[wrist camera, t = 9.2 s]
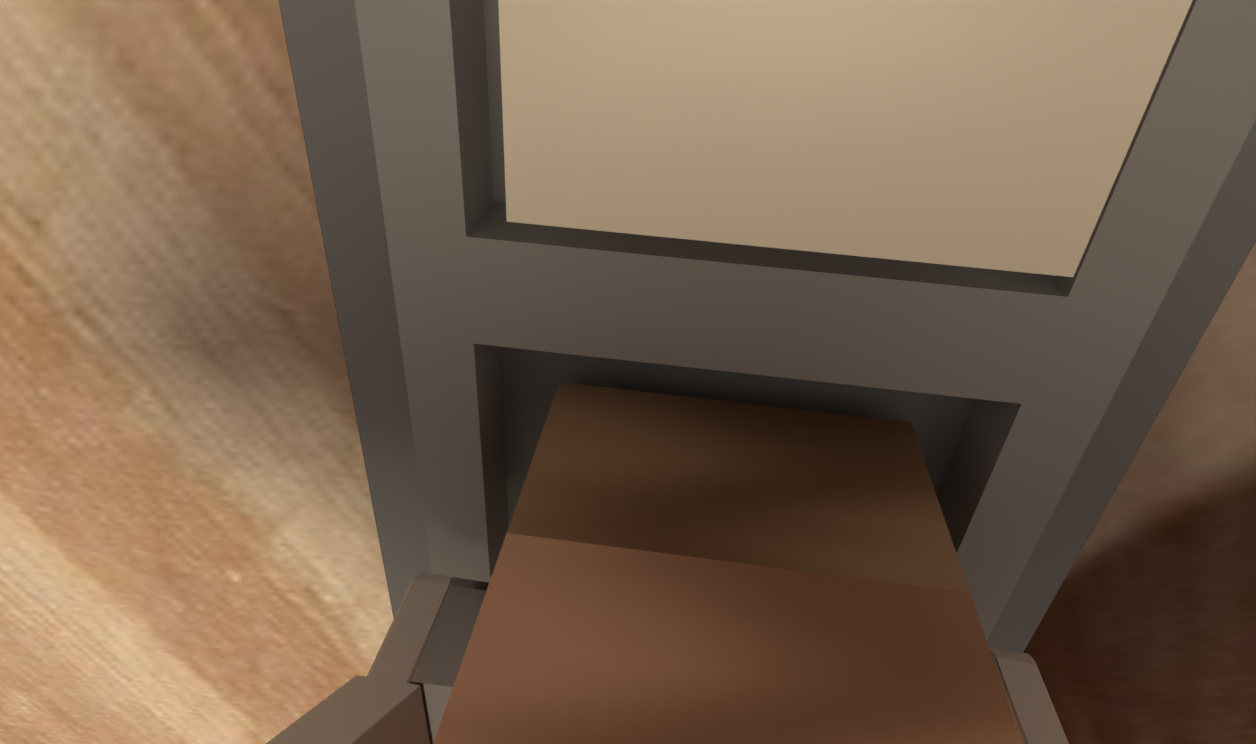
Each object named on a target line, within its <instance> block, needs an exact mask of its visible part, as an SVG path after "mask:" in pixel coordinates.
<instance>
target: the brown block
mask: <svg viewBox="0 0 1256 744" xmlns="http://www.w3.org/2000/svg"><path fill="white" fill-rule="evenodd" d="M433 744H1022V742H1021V739H1020V736H1019V733H1018V731H1017V728H1016V725H1015V722H1014V719H1013V716H1012V713H1011V710H1010V707H1009V704H1008V701H1007V699H1006V696H1005V693H1004V690H1003V687H1002V684H1001V681H1000V678H999V675H998V672H997V670H996V667H995V664H994V661H993V658H992V655H991V652H990V649H989V646H988V643H987V640H986V638H985V635H984V632H983V629H982V626H981V623H980V620H979V617H978V614H977V611H976V609H975V606H974V603H973V600H972V597H971V594H970V591H969V588H968V585H967V582H966V579H965V577H964V574H963V571H962V568H961V565H960V562H959V559H958V556H957V553H956V550H955V548H954V545H953V542H952V539H951V536H950V533H949V530H948V527H947V524H946V521H945V519H944V516H943V513H942V510H941V507H940V504H939V501H938V498H937V495H936V492H935V489H934V487H933V484H932V481H931V478H930V475H929V472H928V469H927V466H926V463H925V460H924V458H923V455H922V452H921V449H920V446H919V443H918V440H917V437H916V434H915V431H914V428H913V426H912V423H911V422H905V421H896V420H887V419H878V418H870V417H861V416H852V415H843V414H834V413H826V412H817V411H808V410H799V409H791V408H782V407H773V406H764V405H756V404H747V403H738V402H729V401H721V400H712V399H703V398H694V397H686V396H677V395H668V394H659V393H651V392H642V391H633V390H624V389H616V388H607V387H598V386H589V385H580V384H572V383H563V382H559V384H558V387H557V390H556V393H555V396H554V398H553V401H552V404H551V407H550V410H549V413H548V416H547V419H546V421H545V424H544V427H543V430H542V433H541V436H540V439H539V442H538V444H537V447H536V450H535V453H534V456H533V459H532V462H531V465H530V467H529V470H528V473H527V476H526V479H525V482H524V485H523V487H522V490H521V493H520V496H519V499H518V502H517V505H516V508H515V510H514V513H513V516H512V519H511V522H510V525H509V528H508V531H507V533H506V536H505V539H504V542H503V545H502V548H501V551H500V554H499V556H498V559H497V562H496V565H495V568H494V571H493V574H492V576H491V579H490V582H489V585H488V588H487V591H486V594H485V597H484V599H483V602H482V605H481V608H480V611H479V614H478V617H477V620H476V622H475V625H474V628H473V631H472V634H471V637H470V640H469V643H468V645H467V648H466V651H465V654H464V657H463V660H462V663H461V665H460V668H459V671H458V674H457V677H456V680H455V683H454V686H453V688H452V691H451V694H450V697H449V700H448V703H447V706H446V709H445V711H444V714H443V717H442V720H441V723H440V726H439V729H438V732H437V734H436V737H435V740H434V743H433Z"/></svg>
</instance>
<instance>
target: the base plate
mask: <svg viewBox="0 0 1256 744" xmlns="http://www.w3.org/2000/svg"><path fill="white" fill-rule="evenodd" d="M279 5H280V10H281V16H282V21H283V27H284V32H285V37H286V43H287V48H288V53H289V59H290V64H291V70H292V75H293V80H294V86H295V91H296V96H297V102H298V107H299V112H300V118H301V123H302V129H303V134H304V139H305V145H306V150H307V155H308V161H309V166H310V172H311V177H312V182H313V188H314V193H315V198H316V204H317V209H318V214H319V220H320V225H321V231H322V236H323V241H324V247H325V252H326V257H327V263H328V268H329V274H330V279H331V284H332V290H333V295H334V300H335V306H336V311H337V316H338V322H339V327H340V333H341V338H342V343H343V349H344V354H345V359H346V365H347V370H348V376H349V381H350V386H351V392H352V397H353V402H354V408H355V413H356V419H357V424H358V429H359V435H360V440H361V445H362V451H363V456H364V461H365V467H366V472H367V478H368V483H369V488H370V494H371V499H372V504H373V510H374V515H375V521H376V526H377V531H378V537H379V542H380V547H381V553H382V558H383V563H384V569H385V574H386V580H387V585H388V590H389V596H390V601H391V606H392V612H393V617H394V618H395V615H396V613H397V611H398V609H399V607H400V605H401V603H402V600H403V598H404V596H405V594H406V592H407V590H408V588H409V585H410V583H411V582H412V580H413V579H414V578H415V577H416V576H417V575H418V574H419V572H422V573H429V574H436V575H443V576H451V577H457V578H464V579H470V580H476V581H482V582H490V579H491V576H492V574H493V571H494V568H495V565H496V562H497V559H498V556H499V554H500V551H501V548H502V545H503V542H504V539H505V536H506V533H507V531H508V528H509V525H510V522H511V519H512V516H513V513H514V510H515V508H516V505H517V502H518V499H519V496H520V493H521V490H522V487H523V485H524V482H525V479H526V476H527V473H528V470H529V467H530V465H531V462H532V459H533V456H534V453H535V450H536V447H537V444H538V442H539V439H540V436H541V433H542V430H543V427H544V424H545V421H546V419H547V416H548V413H549V410H550V407H551V404H552V401H553V398H554V396H555V393H556V390H557V387H558V384H559V382H563V383H572V384H580V385H589V386H598V387H607V388H616V389H624V390H633V391H642V392H651V393H659V394H668V395H677V396H686V397H694V398H703V399H712V400H721V401H729V402H738V403H747V404H756V405H764V406H773V407H782V408H791V409H799V410H808V411H817V412H826V413H834V414H843V415H852V416H861V417H870V418H878V419H887V420H896V421H905V422H911V423H912V426H913V428H914V431H915V434H916V437H917V440H918V443H919V446H920V449H921V452H922V455H923V458H924V460H925V463H926V466H927V469H928V472H929V475H930V478H931V481H932V484H933V487H934V489H935V492H936V495H937V498H938V501H939V504H940V507H941V510H942V513H943V516H944V519H945V521H946V524H947V527H948V530H949V533H950V536H951V539H952V542H953V545H954V548H955V550H956V553H957V556H958V559H959V562H960V565H961V568H962V571H963V574H964V577H965V579H966V582H967V585H968V588H969V591H970V594H971V597H972V600H973V603H974V606H975V609H976V611H977V614H978V617H979V620H980V623H981V626H982V629H983V632H984V635H985V638H986V640H987V643H988V646H989V648H992V649H1000V650H1007V651H1015V652H1024V650H1025V648H1026V647H1027V645H1028V643H1029V641H1030V640H1031V638H1032V636H1033V634H1034V633H1035V631H1036V629H1037V627H1038V625H1039V624H1040V622H1041V620H1042V618H1043V617H1044V615H1045V613H1046V611H1047V610H1048V608H1049V606H1050V604H1051V603H1052V601H1053V599H1054V597H1055V595H1056V594H1057V592H1058V590H1059V588H1060V587H1061V585H1062V583H1063V581H1064V580H1065V578H1066V576H1067V574H1068V572H1069V571H1070V569H1071V567H1072V565H1073V564H1074V562H1075V560H1076V558H1077V557H1078V555H1079V553H1080V551H1081V550H1082V548H1083V546H1084V544H1085V542H1086V541H1087V539H1088V537H1089V535H1090V534H1091V532H1092V530H1093V528H1094V527H1095V525H1096V523H1097V521H1098V519H1099V518H1100V516H1101V514H1102V512H1103V511H1104V509H1105V507H1106V505H1107V504H1108V502H1109V500H1110V498H1111V497H1112V495H1113V493H1114V491H1115V489H1116V488H1117V486H1118V484H1119V482H1120V481H1121V479H1122V477H1123V475H1124V474H1125V472H1126V470H1127V468H1128V466H1129V465H1130V463H1131V461H1132V459H1133V458H1134V456H1135V454H1136V452H1137V451H1138V449H1139V447H1140V445H1141V444H1142V442H1143V440H1144V438H1145V436H1146V435H1147V433H1148V431H1149V429H1150V428H1151V426H1152V424H1153V422H1154V421H1155V419H1156V417H1157V415H1158V413H1159V412H1160V410H1161V408H1162V406H1163V405H1164V403H1165V401H1166V399H1167V398H1168V396H1169V394H1170V392H1171V391H1172V389H1173V387H1174V385H1175V383H1176V382H1177V380H1178V378H1179V376H1180V375H1181V373H1182V371H1183V369H1184V368H1185V366H1186V364H1187V362H1188V360H1189V359H1190V357H1191V355H1192V353H1193V352H1194V350H1195V348H1196V346H1197V345H1198V343H1199V341H1200V339H1201V338H1202V336H1203V334H1204V332H1205V330H1206V329H1207V327H1208V325H1209V323H1210V322H1211V320H1212V318H1213V316H1214V315H1215V313H1216V311H1217V309H1218V307H1219V306H1220V304H1221V302H1222V300H1223V299H1224V297H1225V295H1226V293H1227V292H1228V290H1229V288H1230V286H1231V285H1232V283H1233V281H1234V279H1235V277H1236V276H1237V274H1238V272H1239V270H1240V269H1241V267H1242V265H1243V263H1244V262H1245V260H1246V258H1247V256H1248V254H1249V253H1250V251H1251V249H1252V247H1253V246H1254V244H1255V242H1256V0H279Z"/></svg>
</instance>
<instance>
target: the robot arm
mask: <svg viewBox="0 0 1256 744" xmlns="http://www.w3.org/2000/svg"><path fill="white" fill-rule="evenodd" d="M488 585H489V582H482V581H476V580H470V579H464V578H457V577H451V576H443V575H436V574H429V573H422V572H419V574H418V575H417V576H416V577H415V578H414V579H413V580H412V582H411V583H410V585H409V588H408V590H407V592H406V594H405V596H404V598H403V600H402V603H401V605H400V607H399V609H398V611H397V613H396V615H395V618H394V620H393V622H392V624H391V626H390V628H389V630H388V632H387V635H386V637H385V639H384V641H383V643H382V645H381V647H380V650H379V652H378V654H377V656H376V658H375V660H374V662H373V665H372V667H371V669H370V671H369V673H368V675H367V677H364V676H355V677H353V678H352V679H351V680H349V681H348V682H347V683H345V684H344V685H343V686H342V687H340V688H339V689H338V690H336V691H335V692H334V693H332V694H331V695H330V696H328V697H327V698H326V699H324V700H323V701H322V702H320V703H319V704H318V705H316V706H315V707H314V708H312V709H311V710H310V711H309V712H307V713H306V714H305V715H303V716H302V717H301V718H299V719H298V720H297V721H295V722H294V723H293V724H291V725H290V726H289V727H287V728H286V729H285V730H283V731H282V732H281V733H279V734H278V735H277V736H276V737H274V738H273V739H272V740H270V741H269V742H268V743H266V744H433V743H434V740H435V737H436V734H437V732H438V729H439V726H440V723H441V720H442V717H443V714H444V711H445V709H446V706H447V703H448V700H449V697H450V694H451V691H452V688H453V686H454V683H455V680H456V677H457V674H458V671H459V668H460V665H461V663H462V660H463V657H464V654H465V651H466V648H467V645H468V643H469V640H470V637H471V634H472V631H473V628H474V625H475V622H476V620H477V617H478V614H479V611H480V608H481V605H482V602H483V599H484V597H485V594H486V591H487V588H488ZM989 649H990V652H991V655H992V658H993V661H994V664H995V667H996V670H997V672H998V675H999V678H1000V681H1001V684H1002V687H1003V690H1004V693H1005V696H1006V699H1007V701H1008V704H1009V707H1010V710H1011V713H1012V716H1013V719H1014V722H1015V725H1016V728H1017V731H1018V733H1019V736H1020V739H1021V742H1022V744H1069V743H1068V740H1067V738H1066V735H1065V733H1064V730H1063V728H1062V725H1061V723H1060V720H1059V718H1058V716H1057V713H1056V711H1055V708H1054V706H1053V703H1052V701H1051V698H1050V696H1049V694H1048V691H1047V689H1046V686H1045V684H1044V681H1043V679H1042V676H1041V674H1040V671H1039V669H1038V667H1037V664H1036V662H1035V660H1034V659H1033V658H1032V657H1031V656H1030V655H1029V654H1028V653H1023V652H1015V651H1007V650H1000V649H992V648H989Z"/></svg>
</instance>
